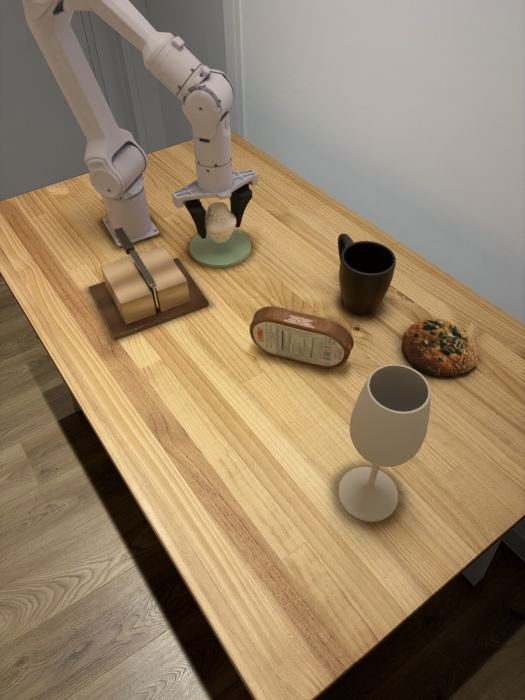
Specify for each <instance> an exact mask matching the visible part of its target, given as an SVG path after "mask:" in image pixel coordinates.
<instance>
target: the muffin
mask: <svg viewBox="0 0 525 700" xmlns="http://www.w3.org/2000/svg"><path fill="white" fill-rule="evenodd" d="M235 225H236V217H235V215H234V214H233V213H232V212H231V209H229V206H228V205H227V204H226V203H224V202H222V201H215V202H214V201H213V202H212V203H210V204H209V205H208V206H207V210H206V214H205V228H206V234H207V235H208V236H209V237H210V239H211V240H212V241H214V242H216V243H222V242H225V241H227V240H228V239H229V238H230V236H231V234H232V232H233V231H234V229H236V226H235Z"/></svg>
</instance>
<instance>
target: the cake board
mask: <svg viewBox="0 0 525 700" xmlns="http://www.w3.org/2000/svg"><path fill="white" fill-rule="evenodd" d="M138 255H139V257H140V258H141V260H142V261H143V263H144V265H145V266H146V268H147V269H148V271H149V273H150V274H151V276H152V277H153V279H154V281H155V282H156V285H157V286H155V291H156V296H157V301H158V306H159V309H157V308H156V306H155V305H154V300H153V295H152V292H151V290H150V289H149V287H148V285H147V284H146V282H145V280H144V279H143V277H142V276H141V274H140V272H139V271H138V269H137V267H136V266H135V263H134V260H133V258H132V257H131V256H127V257H125V258H121V259H118V260H115V261H112V262H107V263H105V264H103V265H100V270H101V273H102V277H103V280H104V281H102V282H100V283H96V284H93V285H90V286H88V287H87V288H88V290H89V293H90V294H91V297H92V299H93V301H94V303H95V305H96V307H97V309H98V311H99V313H100V315H101V317H102V319H103V321H104V323H105V324H106V327H107V329H108V331H109V333H110V335H111V337H112V339H113V340H114V341H117V340H119V339H122V338H125V337H127V336H130V335H133V334H135V333H137V332H141V331H144V330H146V329H150V328H152V327H155V326H158V325H160V324H163V323H165V322H168V321H171V320H173V319H176V318H179V317H182V316H184V315H187V314H190V313H193V312H196V311H199V310H201V309H203V308H206V307H209V306H210V302H209V300H208V299H207V297H206V295H204V293H203V292H202V291H201V289H200V288H199V286H198V284H197V283H196V282H195V280H194V278H193V277H192V276H191V275H190V273H189V272H188V270H187V269H186V268H185V266H184V264H183V262H181V260H180V259H179V257H174V258H172V256H171V255H170V253H169V252H168V251H167V249H166V247H165V246H164V245H162V246H159V247H155V248H153V249H149V250H146V251H142V252H140V253H138Z"/></svg>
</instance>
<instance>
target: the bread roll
mask: <svg viewBox="0 0 525 700" xmlns="http://www.w3.org/2000/svg"><path fill="white" fill-rule="evenodd" d="M401 343H402V350H403V352H404V354H405V356H406V358H407V360H408V361H409V363H410V365H411V366H412V368H413V369H414V370H416V371H418V372H419V373H423V374H426V375H429V376H434V377H435V376H437V377H452V376H454V377H455V376H457V375H458V374H464V373H468V372H470V371H471V370H472V369H473V368H474V367H475V366H476V365H477V364H478V361H479V360H478V358H479V357H478V347H477V343H476V341H475V339H474V337H473V336H472V335H471V334H470V333H469V331H468V330H466V329H463V328H462V327H460V326H459V325H457V324H456V323H454V322H452V321H449V320H446V319H443V318H434V319H422V320H419V321H417V322H415V323H412V324H410V326H409V327H408V328H407V329H406V331H404V333H403V335H402V340H401Z"/></svg>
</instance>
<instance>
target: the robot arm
mask: <svg viewBox="0 0 525 700" xmlns="http://www.w3.org/2000/svg"><path fill="white" fill-rule="evenodd" d="M21 2H22V6H23V11H24V16H25V21H26V23H27V26H28V28H29V30H30V32H31V34H32V36H33V38H34V39H35V42H36V44H37V46H38V47H39V49H40V51H41V53H42V55H43V58H44V59H45V61H46V64H47V65H48V68H49V69H50V71H51V73H52V75H53V77H54V78H55V80H56V82H57V84H58V86H59V88H60V91H61V92H62V94H63V96H64V99H65V100H66V103H67V104H68V105H69V108H70V110H71V112H72V114H73V115H74V117H75V120H76V121H77V123H78V126H79V127H80V129H81V131H82V133H83V135H84V137H85V139H86V147H85V153H84V158H83V159H84V160H83V161H84V163H85V165H86V167H87V169H88V176H89V181H90V183H91V186H92V188H94V190H95V191H96V193H98V194H99V195H100V196H101V198H102V201H103V205H104V209H105V213H106V217H103V218H102V222H103V224H104V225H105V227H106V229H107V230H108V233H109V234H110V235H111V237H112V238H113V240H114V242H115V244H116V246H117V247H122V245H121V244H120V242H119V240H118V239H117V237H116V235H115V232H114V229H118V228H121V227H122V228H123V230H124V231H125V233H126V235H127V236H128V238H129V239H130V241H131V243H132V244H134V243H137V242H140V241H143V240H146V239H150V238H153V237H155V236H159V235H160V231H159V230H158V228H157V226H156V225H155V224H154V222H153V221H152V219H151V216H150V211H149V206H148V201H147V194H146V189H145V184H144V179H145V178H144V172H145V171H146V170H147V168H148V165H149V164H148V163H149V162H148V157H147V154H146V152H145V150H143V148H142V147H141V146H140V145H139V143H137V142H136V140H135V138H134V136H133V134H132V132H131V131H129V130H126V129H124V128H121V127H120V126H119V125H118V123H117V121H116V118H115V117H114V115H113V112H112V110H111V108H110V106H109V104H108V102H107V100H106V97H105V95H104V93H103V91H102V89H101V87H100V85H99V83H98V80H97V78H96V76H95V74H94V72H93V70H92V68H91V65H90V64H89V62H88V60H87V58H86V55H85V53H84V51H83V49H82V47H81V45H80V43H79V42H80V41H79V40H78V38H77V36H76V34H75V32H74V29H73V27H72V25H71V21H72V19H73V15H74V12H77V11H78V12H79V11H80V12H82V11H83V12H93V13H94V14H96V16H98V17H99V18H100V19H101V20H102V21H104V22H105V23H106V24H107V25H109V26H110V27H111V28H112V29H113V30H114V31H115V32H116V33H118V34H119V35H120V36H122V38H124V39H125V40H126V41H128V42H129V43H130V44H131V45H132V46H134V47H135V48H136V49H137V50H138V51H139V52H141V55H142V60H143V65H144V68H145V69H146V70H147V71H149V73H150V74H152V75H153V77H155V78H156V79H157V80H158V81H159V82H160V83H161V84H162V85H163V86H164V87H166V89H168V90H169V91H170V93H172V94H173V95H174V96H175V97H176V98H177V99H178V100H179V101H180V102H182V104H181V109H182V111H183V114H184V116H185V117H186V119H187V120H188V122H189V123H190V125H191V132H192V141H193V142H192V143H193V151H194V161H195V170H196V171H195V173H196V179H195V180H193V181H192V182H190V183H188V184H187V185H184V186H183V187H181V188H179V189H177V190H174V191H172V192H171V198H172V204H174V206H175V207H176V208H177V209H180V208H183V207H184V208H185V209H186V210H187V211H188V213H189V215H190V217H191V219H192V220H193V224H194V225H195V229H196V232H197V234H199V235H200V237H201V238H202V239H205V238H206V228H205V214H206V211H207V210H206V208H205V207H204V206H203V203H202V201H201V200H204V199H215V198H217V199H219V200H226V199H229V204H230V211H231V212H232V213H233V214H234V215H235V217H236V225H235V228H236V229H238V228H241V225H242V220H243V217H244V214H245V211H246V209H247V207H248V205H249V203H250V201H251V200H252V199H253V190H252V189H251V188H250V186H252V187H253V186H254V187H255V186H258V179H259V178H258V173H257V172H256V171H255V170H254V169H252V168H250V169H246V170H237V171H233V158H232V157H233V156H232V155H233V154H232V153H233V152H232V138H231V137H232V136H231V119H230V111H228V110H229V109H230V107H231V106H232V105H233V102H234V100H235V89H234V86H233V83H232V81H231V80H230V79H229V78H228V76H227V74H226V73H225V72H224V71H221V70H219V69H215V68H214V69H213V68H209V67H208V66H207V65H204V63H202V62H201V61H200V60H199V59H198V58H197V57H196V56H195V55H194V54H193V53H192V52H191V51H190V50H189V49H188V48H187V47H186V46H185V41H184V40H183V39H182V38H181V37H180V36H179V35H177V36H174V35H173V33H172V32H166V31H165V32H163V31H157V30H156V29H155V28H154V27H153V25H151V23H150V22H149V21H148V20H147V19H146V18H145V17H144V16H143V14H141V12H140V11H139V10H138V9H137V8H136V7H135V5H133V3H132V2H131V1H130V0H21Z"/></svg>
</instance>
